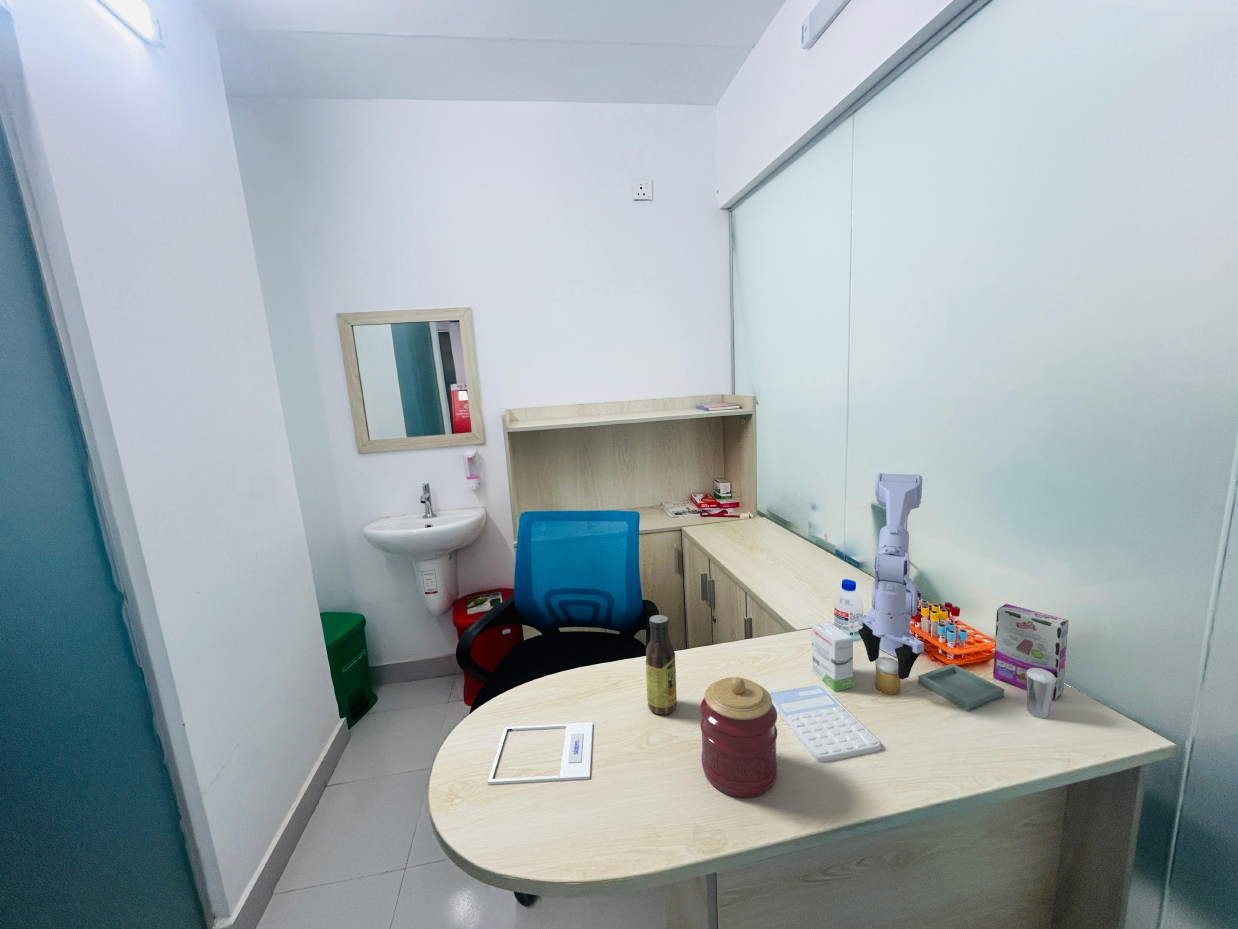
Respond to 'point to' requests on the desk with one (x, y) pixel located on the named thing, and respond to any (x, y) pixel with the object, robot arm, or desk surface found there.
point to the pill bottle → (887, 676)
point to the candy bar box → (1029, 646)
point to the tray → (961, 687)
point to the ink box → (832, 656)
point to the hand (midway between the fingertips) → (888, 668)
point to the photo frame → (573, 757)
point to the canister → (739, 737)
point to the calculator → (823, 724)
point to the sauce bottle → (660, 668)
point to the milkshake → (1040, 691)
